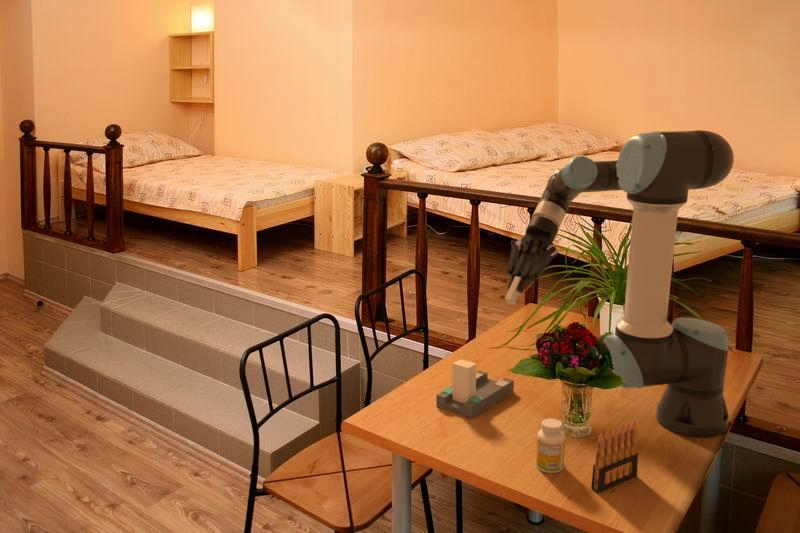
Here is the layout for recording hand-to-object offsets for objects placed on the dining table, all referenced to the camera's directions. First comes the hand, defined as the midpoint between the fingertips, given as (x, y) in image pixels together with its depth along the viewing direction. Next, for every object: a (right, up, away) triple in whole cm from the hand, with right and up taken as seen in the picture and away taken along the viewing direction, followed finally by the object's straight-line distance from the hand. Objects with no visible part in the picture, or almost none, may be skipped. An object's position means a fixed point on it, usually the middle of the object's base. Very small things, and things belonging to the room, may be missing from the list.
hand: (509, 301), depth 188 cm
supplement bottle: (+3, -32, -34) cm, 47 cm away
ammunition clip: (+15, -33, -40) cm, 54 cm away
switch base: (-9, -23, -4) cm, 25 cm away
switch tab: (-12, -23, -8) cm, 27 cm away
